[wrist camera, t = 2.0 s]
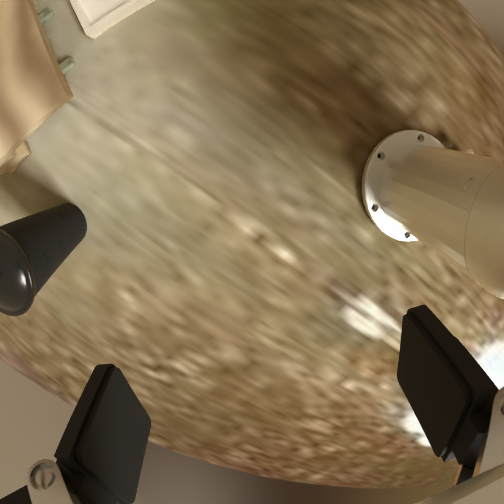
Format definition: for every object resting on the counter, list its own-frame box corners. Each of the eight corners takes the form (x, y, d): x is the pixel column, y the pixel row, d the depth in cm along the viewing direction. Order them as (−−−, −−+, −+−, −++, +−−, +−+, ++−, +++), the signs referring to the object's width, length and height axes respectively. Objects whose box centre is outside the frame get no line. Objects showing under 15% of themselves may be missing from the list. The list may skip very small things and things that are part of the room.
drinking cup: (106, 247, 32) (5, 362, 14) (57, 260, 32) (-44, 361, 14) (86, 182, 29) (-50, 250, 11) (36, 202, 30) (-88, 272, 11)
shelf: (42, -13, 19) (18, -27, 14) (93, 99, 26) (66, 95, 21) (-28, 59, 21) (-56, 57, 16) (12, 172, 28) (-18, 181, 22)
